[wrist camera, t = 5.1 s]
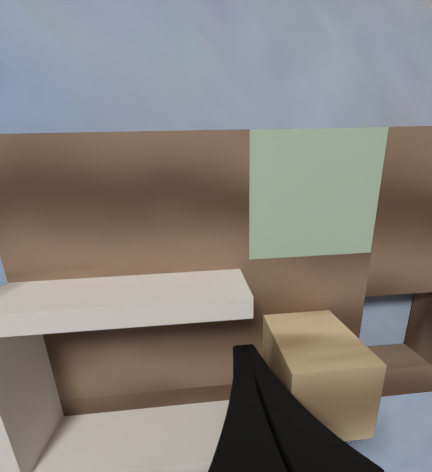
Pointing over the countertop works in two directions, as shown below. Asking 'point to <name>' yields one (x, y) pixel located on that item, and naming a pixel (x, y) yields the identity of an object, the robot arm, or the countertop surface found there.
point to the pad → (314, 190)
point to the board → (198, 256)
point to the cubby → (117, 422)
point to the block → (326, 370)
